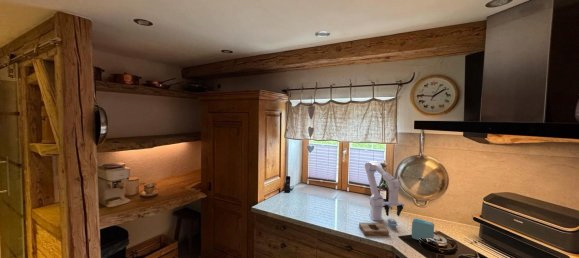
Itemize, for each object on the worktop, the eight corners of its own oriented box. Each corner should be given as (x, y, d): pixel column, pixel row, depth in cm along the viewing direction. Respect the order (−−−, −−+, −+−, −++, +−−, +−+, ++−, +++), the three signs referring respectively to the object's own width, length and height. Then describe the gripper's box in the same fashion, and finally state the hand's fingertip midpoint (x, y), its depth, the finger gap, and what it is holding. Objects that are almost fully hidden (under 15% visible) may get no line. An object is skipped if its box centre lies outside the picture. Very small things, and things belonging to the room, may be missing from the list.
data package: (433, 241, 147) (434, 222, 147) (432, 244, 144) (433, 225, 143) (412, 235, 154) (413, 217, 153) (411, 238, 150) (412, 220, 150)
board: (359, 226, 164) (359, 222, 164) (381, 227, 165) (381, 223, 164) (364, 235, 152) (365, 231, 152) (388, 235, 153) (389, 231, 152)
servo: (387, 224, 169) (387, 216, 169) (391, 224, 169) (392, 216, 169) (392, 230, 161) (392, 221, 160) (397, 230, 161) (397, 221, 161)
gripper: (385, 198, 157) (384, 217, 158) (406, 199, 157) (405, 218, 158) (381, 194, 164) (380, 213, 165) (401, 195, 164) (400, 213, 165)
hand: (392, 215), depth 162 cm, fingers open, 7 cm apart
